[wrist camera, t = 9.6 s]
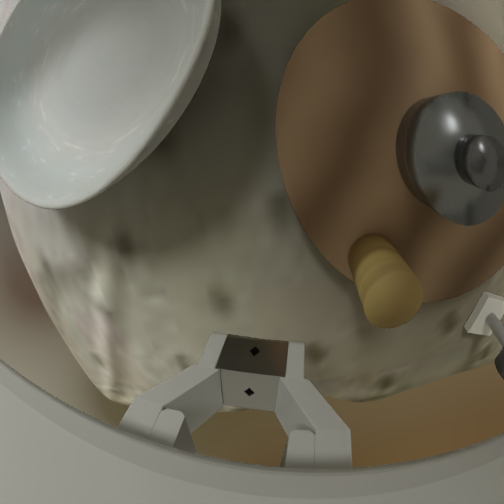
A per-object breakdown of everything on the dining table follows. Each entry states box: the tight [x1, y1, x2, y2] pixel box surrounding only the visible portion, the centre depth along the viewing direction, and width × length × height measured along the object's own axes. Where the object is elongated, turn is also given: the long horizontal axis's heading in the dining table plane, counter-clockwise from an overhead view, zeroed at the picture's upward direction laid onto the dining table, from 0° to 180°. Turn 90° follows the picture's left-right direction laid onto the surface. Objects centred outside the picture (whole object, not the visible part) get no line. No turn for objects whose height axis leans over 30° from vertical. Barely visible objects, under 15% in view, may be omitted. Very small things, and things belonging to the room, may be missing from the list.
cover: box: [396, 91, 504, 226], centre depth 10 cm, size 7×7×5 cm
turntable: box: [275, 0, 504, 328], centre depth 10 cm, size 21×21×6 cm
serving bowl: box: [0, 0, 221, 209], centre depth 12 cm, size 21×21×7 cm
